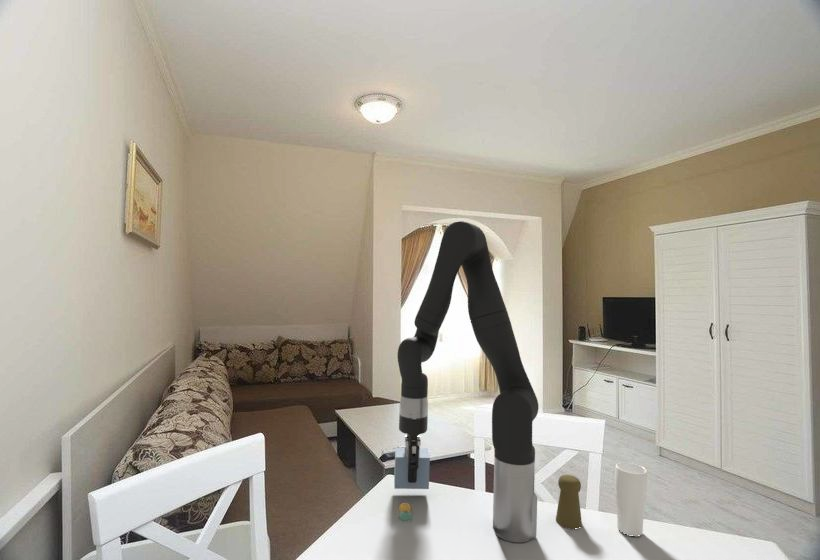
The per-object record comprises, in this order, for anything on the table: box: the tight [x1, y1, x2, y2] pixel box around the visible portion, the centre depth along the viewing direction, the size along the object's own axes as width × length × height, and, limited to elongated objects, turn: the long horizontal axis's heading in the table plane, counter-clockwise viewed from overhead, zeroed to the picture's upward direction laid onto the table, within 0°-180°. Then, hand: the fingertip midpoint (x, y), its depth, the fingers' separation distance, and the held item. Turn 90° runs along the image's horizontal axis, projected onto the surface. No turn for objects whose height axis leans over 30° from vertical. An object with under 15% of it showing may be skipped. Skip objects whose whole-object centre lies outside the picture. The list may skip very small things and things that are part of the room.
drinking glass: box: [614, 461, 648, 536], centre depth 101 cm, size 7×7×15 cm
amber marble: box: [398, 502, 412, 513], centre depth 106 cm, size 3×3×3 cm
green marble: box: [398, 511, 413, 522], centre depth 102 cm, size 3×3×3 cm
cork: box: [555, 474, 583, 530], centre depth 105 cm, size 6×6×11 cm
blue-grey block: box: [393, 447, 431, 490], centre depth 113 cm, size 9×6×8 cm
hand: (411, 475), depth 113 cm, fingers closed on blue-grey block, 6 cm apart
